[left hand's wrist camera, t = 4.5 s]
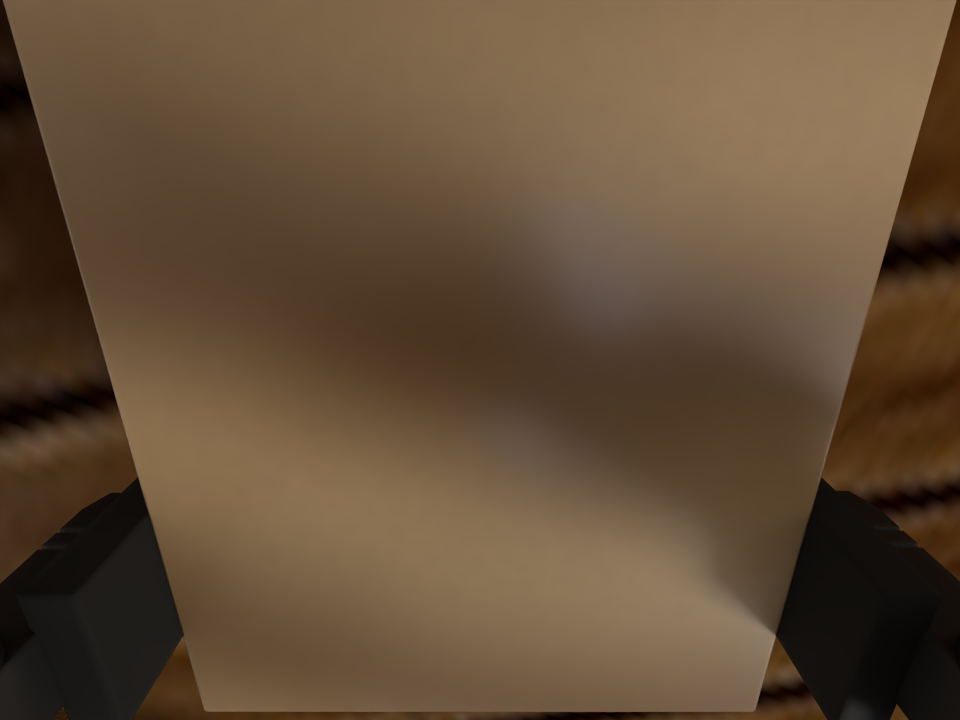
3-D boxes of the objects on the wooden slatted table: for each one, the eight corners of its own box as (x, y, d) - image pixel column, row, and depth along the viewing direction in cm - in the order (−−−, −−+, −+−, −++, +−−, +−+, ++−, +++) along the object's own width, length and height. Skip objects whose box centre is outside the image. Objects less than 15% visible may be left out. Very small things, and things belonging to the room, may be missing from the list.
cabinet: (234, -150, 11) (-191, -670, 4) (725, -150, 11) (1149, -669, 4) (318, 479, 17) (203, 713, 10) (641, 479, 17) (755, 713, 10)
